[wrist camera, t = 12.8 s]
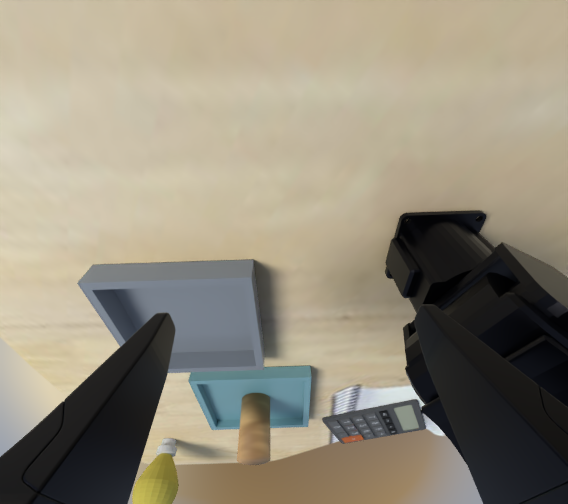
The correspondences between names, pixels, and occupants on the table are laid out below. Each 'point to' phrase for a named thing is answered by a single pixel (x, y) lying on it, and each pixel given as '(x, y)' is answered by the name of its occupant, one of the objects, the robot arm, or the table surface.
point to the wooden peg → (254, 430)
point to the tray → (271, 381)
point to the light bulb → (158, 478)
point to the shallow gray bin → (185, 309)
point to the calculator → (376, 422)
